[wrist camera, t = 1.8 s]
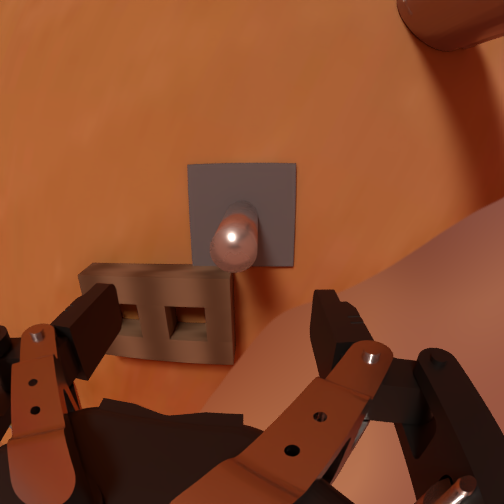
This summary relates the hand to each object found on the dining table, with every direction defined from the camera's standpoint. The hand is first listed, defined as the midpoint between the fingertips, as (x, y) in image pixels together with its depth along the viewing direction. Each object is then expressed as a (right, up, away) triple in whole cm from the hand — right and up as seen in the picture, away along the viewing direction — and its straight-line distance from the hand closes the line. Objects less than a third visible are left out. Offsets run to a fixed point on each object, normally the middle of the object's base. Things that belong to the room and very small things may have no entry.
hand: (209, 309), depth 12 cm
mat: (+1, +6, +17) cm, 18 cm away
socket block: (-8, -4, +21) cm, 23 cm away
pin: (+1, +6, +17) cm, 18 cm away
